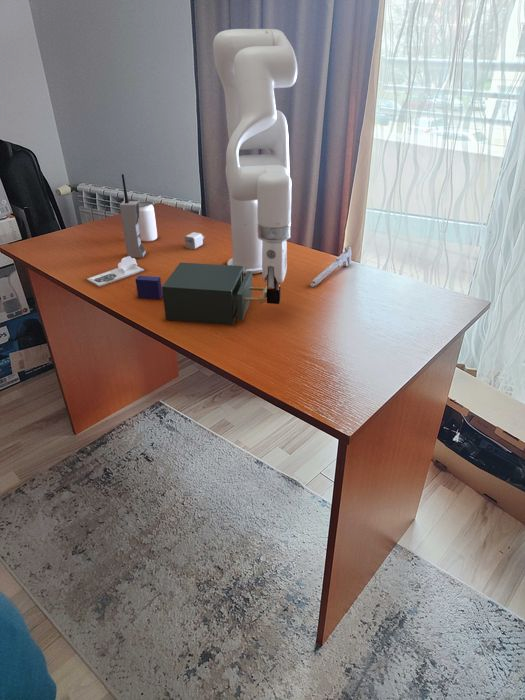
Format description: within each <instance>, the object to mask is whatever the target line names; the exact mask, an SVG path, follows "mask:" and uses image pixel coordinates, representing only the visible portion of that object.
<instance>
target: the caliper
mask: <svg viewBox="0 0 525 700" xmlns="http://www.w3.org/2000/svg"><path fill="white" fill-rule="evenodd" d="M352 256H353V253H352V248H351V246H350V245H347V246H346V247H344V251H343V252H342V253H340V255H338V256H337V257H336V258H335V260H334V261H333V262H332V263H331V264H330V265H329V266H327V267H326V268H325V269H323V271H321V272H320V273H319V274H318V275H317V276H316V277H315V278H314V279H313V280H311V283H310V284H309V287H312V288H313V287H316V286H318V285H319V284H320V283H321V282H322V281H323V280H324V279H325V278H326V277H327V276H329V275H330V274H331V273H332V272H333V271H334V270H335V269H336V268H341V266H342V265H343V266H344V267H347V268H348V265H351V264H352Z"/></svg>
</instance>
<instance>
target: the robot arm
mask: <svg viewBox="0 0 525 700" xmlns="http://www.w3.org/2000/svg"><path fill="white" fill-rule="evenodd" d="M212 53H213V61H214V65H215V69H216V72H217V75H218V77H219V80H220V83H221V86H222V89H223V92H224V101H225V115H226V126H227V137H228V143H227V147H226V153H225V171H224V172H225V179H226V184H227V185H226V186H227V190H228V198H229V209H230V233H231V234H230V235H231V256H232V258H230V259H229V260H228V261H227V262H226V263H227V264H226V265H232V266H243V270H244V275H246V273H247V271H252V275H255V274H260V273H261V276H262V281H263V282H264V283H266V286H267V297H266V304H269V305H280V302H281V284H282V283H284V281H285V278H286V275H287V271H288V270H287V269H288V260H287V259H288V240H289V239H291V230H292V229H291V227H292V225H291V224H292V187H293V185H292V178H291V170H290V169H291V168H290V166H291V165H290V144H289V143H290V142H289V127H288V122H287V118H286V115H285V114H284V113H283V112H282V111H281V110H278V109H277V105H276V98H275V96H276V95H275V89H285V88H291V87H293V86H294V85H295V83H296V82H297V77H298V61H297V56H296V53H295V50H294V48H293V46H292V44H291V42H290V41H289V39H288V38H287V37H286V35H285V33H284V32H283V31H282V30H280V29H275V28H231V29H226V30H222V31H219V32H218V33H217V34H216V35H215V36H214V39H213V42H212ZM240 150H242V151H243V150H244V151H246V150H247V151H248V150H269V151H270V153H266V154H262V153H261V154H242V155H239V153H240Z"/></svg>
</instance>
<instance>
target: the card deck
mask: <svg viewBox="0 0 525 700" xmlns="http://www.w3.org/2000/svg"><path fill="white" fill-rule="evenodd" d="M161 278H162V277H161V276H151V275H138V276H137V277H136V278H135V279H134V280H135V287H136V291H137V292H136V293H137V298H138V299H148V300H161V299H162V298H163V293H162V286H163V285H162V280H161Z"/></svg>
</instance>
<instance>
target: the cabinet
mask: <svg viewBox="0 0 525 700" xmlns="http://www.w3.org/2000/svg"><path fill="white" fill-rule="evenodd" d="M241 274H242V282H243V280H244V278H245V274H244V270H243V266H232V265H227V264H213V263H198V262H197V263H196V262H179V263H178V265H177V266H176V267H175V268H174V270H173V271H172V273H171V274H170V275H169V277H168V278H167V279H166V280H165V281H164V283H163V284H162V285H161V286H162V294H163V296H162V299H163V308H164V316H165V320H166V321H173V322H174V321H175V322H189V323H200V324H201V323H202V324H203V323H204V324H213V325H214V324H215V325H226V326H227V325H229V326H233V325H234V323H235V320H236V318H237V317H238V311H237V308H236V311H235V313H234V315H233V300H232V292H233V290H234V288H235V286H236V284H237V282H238V280H239V278H240V275H241Z"/></svg>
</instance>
